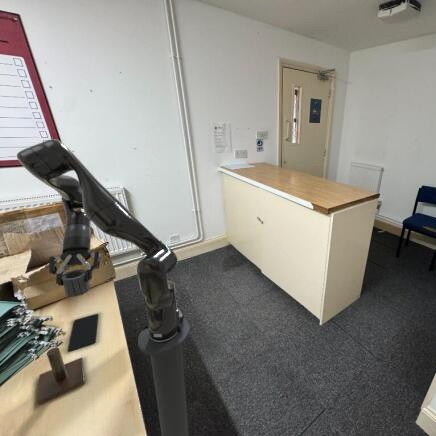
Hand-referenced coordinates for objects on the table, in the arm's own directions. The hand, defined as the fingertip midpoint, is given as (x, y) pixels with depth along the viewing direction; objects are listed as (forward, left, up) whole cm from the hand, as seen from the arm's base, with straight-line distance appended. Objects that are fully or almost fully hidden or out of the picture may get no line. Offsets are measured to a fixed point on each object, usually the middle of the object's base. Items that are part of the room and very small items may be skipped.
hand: (74, 283), depth 81 cm
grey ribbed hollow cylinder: (0, -1, -4) cm, 5 cm away
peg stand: (+6, +25, -15) cm, 30 cm away
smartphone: (0, +8, -16) cm, 18 cm away
